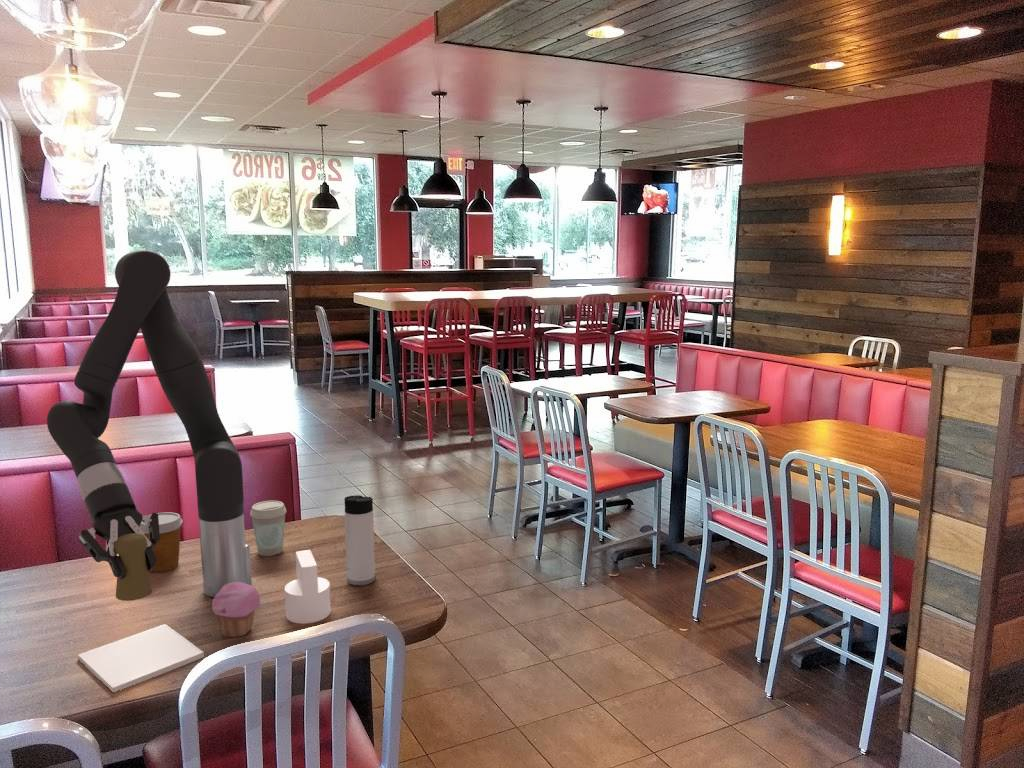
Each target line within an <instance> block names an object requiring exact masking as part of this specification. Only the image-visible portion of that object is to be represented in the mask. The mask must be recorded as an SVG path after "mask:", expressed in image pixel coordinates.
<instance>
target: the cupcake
mask: <svg viewBox="0 0 1024 768" xmlns="http://www.w3.org/2000/svg"><path fill="white" fill-rule="evenodd" d="M260 599H261V597H260V594H259V591H258V590H257V588H256V586H253V585H252V586H251V585H248V584H245V583H242V582H232V583H228V584H226V585H224V586H223V587H222V588H221V589H220V591H219V592H218V593H217V594H216V596H215V597H213V599H212V602H211V603H212V604H211V610H212V612H213V613H214V614H215V615H216V617H217V619H218V623H219V631H220V633H221V635H222V636H224V637H226V638H234V637H235V638H237V637H243V636H244V635H246V634H247V633H248V632H249V631H250V630H251V629H252V628H253V624H254V616H255V612H256V609H257V608H259V606H260V604H261V600H260Z"/></svg>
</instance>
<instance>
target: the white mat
mask: <svg viewBox="0 0 1024 768" xmlns="http://www.w3.org/2000/svg"><path fill="white" fill-rule="evenodd" d="M77 658H78V661H79V660H80V661H79V662H80V663H81V664H82V663H83V664H84V665H85V668H86V669H88V670H89V671H90V672H91V673H92V675H94V676H95V677H96V678H97V680H99V681H100V680H101V681H102V682H103V683H104V684H105V685H106V686H107V687H108V688H109V689H110V690H111V691H112V692H115V693H117V692H116V691H118V690H120V691H122V689H123V690H125V689H127V687H128V688H130V687H133V686H135V685H137V683H138V684H140V683H143V682H145V681H148V680H150V679H153V678H155V677H158V676H160V675H163V674H166V673H168V672H171V671H173V670H175V669H178V668H180V667H183V666H185V665H188V664H190V663H193V662H195V661H198V660H201V659H203V658H205V655H204V651H203V650H202V649H200V648H198V646H196V645H195V644H193V643H192V642H191V641H190V640H188V639H187V638H185V637H184V636H183V635H181V634H180V633H179V632H177V631H176V630H174V629H172V628H171V626H169V625H168V624H166V623H164V624H161V625H158V626H155V627H152V628H149V629H147V630H144V631H140V632H138V633H134V634H133V635H129V636H127V637H123V638H121V639H117V640H115V641H113V642H112V641H111V642H110V643H108V644H104V645H102V646H99V647H95V648H93V649H89V650H87V651H83V652H82V653H78V654H77ZM83 664H82V665H83ZM84 665H83V666H84ZM152 677H153V678H152ZM101 681H100V682H101ZM102 682H101V683H102ZM103 683H102V684H103ZM104 684H103V685H104ZM105 685H104V686H105ZM132 685H133V686H132ZM106 686H105V687H106ZM129 686H130V687H129ZM107 687H106V688H107ZM108 688H107V689H108ZM124 688H125V689H124ZM109 689H108V690H109ZM111 691H110V692H111ZM118 692H119V691H118Z"/></svg>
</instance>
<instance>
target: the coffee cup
mask: <svg viewBox="0 0 1024 768" xmlns="http://www.w3.org/2000/svg"><path fill="white" fill-rule="evenodd" d="M249 511H250V514H249V516H250V517H251V521H252V526H253V533H254V537H255V544H256V548H257V553H258V555H260V556H261V557H262V556H263V557H270V556H276V554H277V555H279V554H281V553H282V552H283V549H284V535H285V534H284V533H285V522H286V521H285V520H286V514H287V508H286V506H285V504H284V503H283V502H282V501H280V500H264V501H259V502H257V503H254V504H253V505H252V506H251V509H250V510H249Z"/></svg>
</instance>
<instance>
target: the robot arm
mask: <svg viewBox="0 0 1024 768" xmlns="http://www.w3.org/2000/svg"><path fill="white" fill-rule="evenodd" d="M171 276H172V275H171V268H170V265H169V263H168V261H167V259H165V258H164V256H162V255H161V254H159V253H158V252H155V251H153V250H147V249H140V250H135V251H132V252H128V253H126V254H124V255H123V256H121V257H120V259H119V260H118V261H117V263H116V266H115V268H114V277H115V281H116V284H117V286H118V289H117V292H116V295H115V298H114V301H113V304H112V306H111V308H110V311H109V312H108V314H107V316H106V318H105V320H104V322H103V323H102V325H101V326H100V328H99V330H98V331H97V333H96V334H95V336H94V338H93V339H92V341H91V343H90V344H89V347H88V348H87V350H86V352H85V355H84V356H83V359H82V361H81V363H80V366H79V367H78V370H77V372H76V375H75V377H74V380H73V384H74V386H75V387H76V388H77V389H78V390H80V391H82V393H83V402H82V403H80V402H76V401H72V400H62V401H59V402H56V403H54V405H52V406H51V407H50V409H49V411H48V413H47V417H46V425H47V430H48V432H49V435H50V436H51V438H52V439H53V441H54V442H55V443H56V445H57V447H58V448H59V449H60V450H61V452H62V453H63V454H64V455H65V456H66V458H67V460H69V461H70V463H71V467H72V470H73V472H74V475H75V477H76V480H77V483H78V489H79V492H80V494H81V499H82V501H83V502H84V504H85V507H86V510H87V512H88V515H89V517H90V519H91V523H92V527H90V528H89V529H82V530H81V532H80V534H79V536H78V538H77V539H78V542H79V543H80V544H81V546H83V548H84V549H85V550H86V552H88V553H89V555H90V556H91V558H92V559H93V560H94V561H95V562H97V563H101V562H107V563H109V567H110V569H111V572H112V574H113V576H114V577H115V578H117V577H118V578H119V579H123V578H125V576H126V571H125V569H124V566H123V564H122V561H121V559H120V556H119V555H118V554H117V552H116V550H115V542H116V541H117V539H118V538H119V537H121V536H122V535H125V534H130V533H139V534H142V535H144V536H145V533H144V532H143V531H142V529H141V528H140V524H141V522H143V523H144V524H145V526H146V527H147V528H148V527H149V540H148V538H147V537H146V536H145V537H146V540H147V548H146V550H145V551H144V553H145V558H146V562H147V567H148V571H149V572H150V571H151V570H153V569H154V567H155V565H156V563H157V559H156V557H155V555H154V552H153V550H152V548H153V547H156V545H157V543H158V541H159V540H160V532H159V519H158V514H157V512H152V513H151V514H152V515H151V514H145V515H144V514H142V513H141V512H140V511H139V510H137V506H136V504H135V501H134V498H133V496H132V494H131V492H130V489H129V486H128V484H127V483H126V482H127V481H126V480H125V476H124V475H123V473H122V472H121V469H120V468H119V466H118V464H117V462H116V460H115V457H114V455H113V452H112V450H111V447H109V445H108V444H107V443H106V442H104V441H103V440H101V439H99V438H101V436H102V435H103V434H104V433H105V431H106V429H107V427H108V424H109V420H110V414H111V408H112V402H113V391H114V389H115V386H116V384H117V383H118V380H119V377H120V375H121V373H122V372H123V369H124V367H125V364H126V362H127V360H128V356H129V355H130V352H131V350H132V347H133V345H134V344H135V343H134V342H135V341H136V338H137V336H138V334H139V332H140V331H141V333H142V337H143V341H144V344H145V346H146V349H147V352H148V355H149V358H150V361H151V363H152V364H151V365H152V366H153V370H154V371H155V374H156V377H157V379H158V381H159V384H160V386H161V388H162V391H163V393H164V395H165V396H166V399H167V401H168V402H169V405H170V406H171V407H172V409H173V411H175V413H176V415H177V416H178V418H179V420H180V421H181V423H182V425H183V426H184V429H185V432H186V434H187V437H188V441H189V444H190V446H191V451H192V455H193V459H194V461H193V462H194V469H195V470H194V471H195V473H194V475H195V484H196V487H195V488H196V500H197V502H196V503H197V515H198V516H197V517H198V528H199V541H200V543H199V544H200V555H201V556H200V557H201V569H202V586H203V594H204V595H205V596H208V597H210V598H215V596H216V594H217V593H218V592H219V591H220V589H221V588H222V587H223V586H224V585H226V584H228V583H232V582H242V583H245V584H248V585H251V586H253V583H252V582H253V580H252V566H251V565H252V564H251V563H252V561H251V549H250V545H249V544H247V543H246V530H245V515H244V513H245V512H244V511H245V510H244V501H245V500H244V480H243V476H244V475H243V464H242V460H241V456H240V454H239V451H238V449H237V447H236V446H235V444H234V442H233V441H232V439H231V438H230V436H229V434H228V432H227V429H226V428H225V426H224V423H223V422H222V420H221V417H220V415H219V411H218V408H217V406H216V405H217V404H216V401H215V396H214V392H213V391H214V390H213V388H212V384H211V381H210V379H209V375H208V372H207V369H206V367H205V364H204V362H203V359H202V357H201V354H200V353H199V350H198V348H197V346H196V345H195V343H194V342H193V340H192V338H191V336H190V335H189V334H188V332H187V330H186V329H185V328H184V326H183V324H182V323H181V321H180V320H179V319H178V317H177V315H176V313H175V311H174V308H173V306H172V303H171V299H170V297H169V293H168V291H167V287H168V285H169V283H170V280H171ZM96 535H97V536H98V537H99V538H101V539H103V540H105V549H104V548H103V547H102V545H100V544H99V542H98V541H97V540H96ZM151 572H152V571H151Z"/></svg>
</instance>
